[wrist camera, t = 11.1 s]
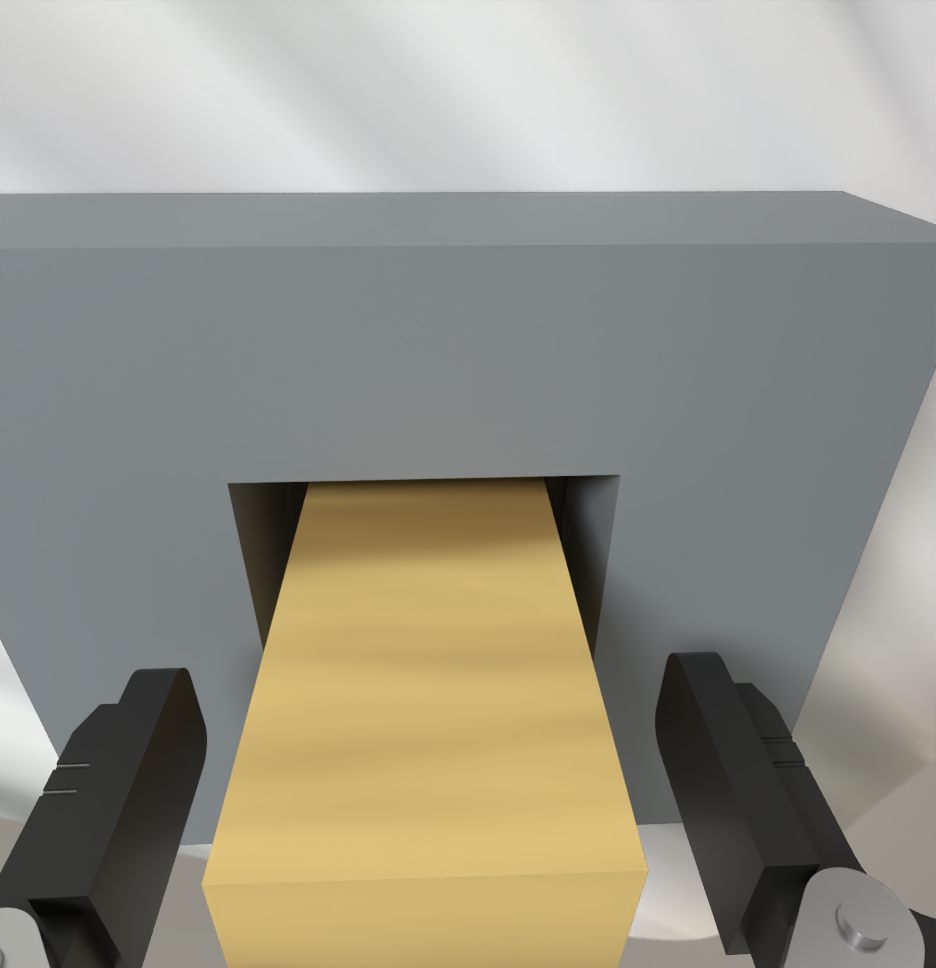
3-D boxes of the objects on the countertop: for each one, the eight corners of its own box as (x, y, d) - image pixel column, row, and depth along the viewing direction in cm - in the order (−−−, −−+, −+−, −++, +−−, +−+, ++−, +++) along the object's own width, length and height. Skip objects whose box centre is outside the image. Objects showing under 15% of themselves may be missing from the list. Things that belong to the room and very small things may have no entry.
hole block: (-24, 193, 12) (-192, 250, 9) (842, 190, 13) (984, 242, 10) (158, 712, 20) (103, 848, 17) (704, 692, 21) (757, 819, 17)
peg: (325, 420, 15) (202, 885, 7) (528, 422, 16) (647, 870, 7) (339, 578, 18) (260, 1065, 9) (514, 576, 18) (592, 1048, 10)
